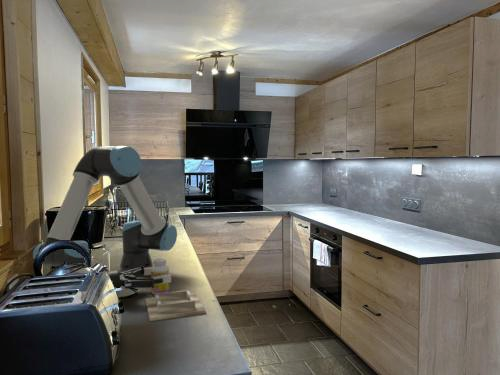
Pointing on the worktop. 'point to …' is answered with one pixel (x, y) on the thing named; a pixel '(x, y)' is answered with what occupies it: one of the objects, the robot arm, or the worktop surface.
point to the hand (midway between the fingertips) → (165, 273)
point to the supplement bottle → (160, 270)
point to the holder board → (174, 305)
